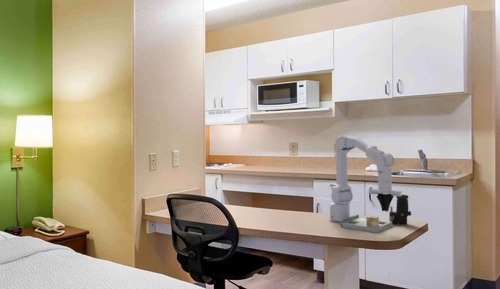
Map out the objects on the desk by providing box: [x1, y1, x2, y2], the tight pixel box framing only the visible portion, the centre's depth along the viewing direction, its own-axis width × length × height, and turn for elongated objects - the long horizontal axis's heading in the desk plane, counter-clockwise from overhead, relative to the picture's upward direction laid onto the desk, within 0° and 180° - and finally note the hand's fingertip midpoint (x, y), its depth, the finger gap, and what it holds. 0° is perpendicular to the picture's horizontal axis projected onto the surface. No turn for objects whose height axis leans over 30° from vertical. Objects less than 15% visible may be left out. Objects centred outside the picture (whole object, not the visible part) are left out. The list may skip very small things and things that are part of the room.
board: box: [340, 214, 393, 234], centre depth 196 cm, size 18×16×4 cm
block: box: [366, 215, 380, 227], centre depth 189 cm, size 4×4×4 cm
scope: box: [388, 194, 412, 226], centre depth 200 cm, size 8×14×10 cm
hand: (385, 210), depth 185 cm, fingers closed
